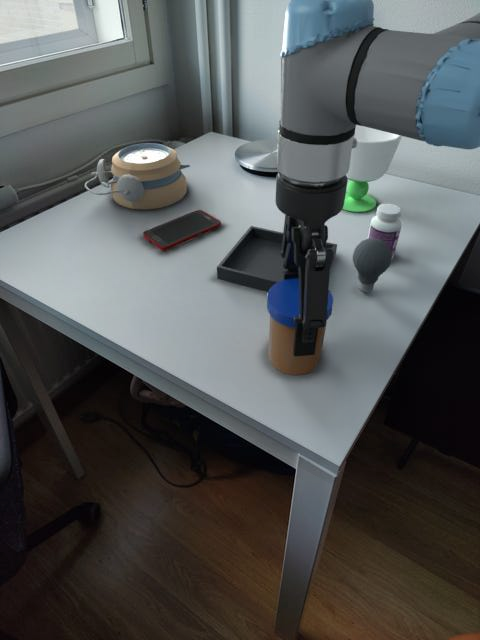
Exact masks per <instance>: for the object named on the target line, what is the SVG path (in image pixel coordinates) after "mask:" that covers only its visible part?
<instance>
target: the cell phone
mask: <svg viewBox="0 0 480 640" xmlns="http://www.w3.org/2000/svg"><path fill="white" fill-rule="evenodd" d="M221 226H222V222H221V220H219V219H218V218H216V217H214V216H213V215H211V214H209V213H208V212H206V211H204V210H202V209H196V210H194V211H191V212H189V213H186V214H184V215H181V216H179V217H176V218H174V219H171V220H169V221H166V222H164V223H162V224H159V225H156V226H154V227H151V228H149V229H146V230H144V231H143V232H142V237H143V238H144V239H145V240H147V241H148V242H149V243H152V244H153V246H154V247H156V248H157V249H159V250H160V251H163V252H165V251H168V250H171V249H173V248H176V247H178V246H180V245H183V244H184V243H186V242H188V241H191V240H194V239H195V238H198V237H200V236H203V235H205V234H207V233H210V232H211V231H214V230H216V229H219V228H220V227H221Z"/></svg>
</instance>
